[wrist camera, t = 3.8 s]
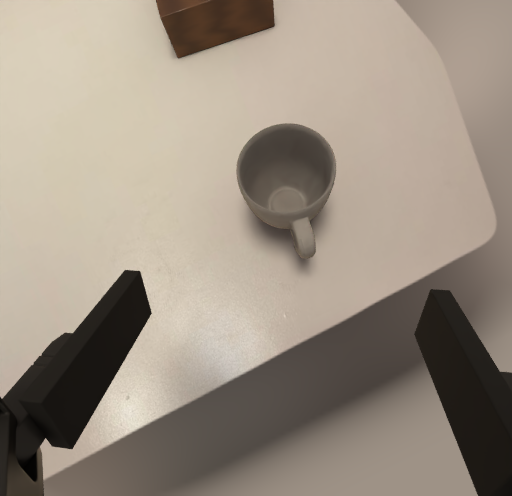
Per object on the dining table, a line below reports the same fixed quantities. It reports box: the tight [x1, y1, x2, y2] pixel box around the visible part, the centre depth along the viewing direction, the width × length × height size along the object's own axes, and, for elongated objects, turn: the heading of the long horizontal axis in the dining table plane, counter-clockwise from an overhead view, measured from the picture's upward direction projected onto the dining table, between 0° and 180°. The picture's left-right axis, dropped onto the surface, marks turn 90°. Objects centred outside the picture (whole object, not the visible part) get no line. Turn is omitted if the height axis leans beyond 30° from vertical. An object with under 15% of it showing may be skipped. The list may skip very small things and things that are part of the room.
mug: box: [237, 124, 336, 259], centre depth 31 cm, size 12×9×10 cm
